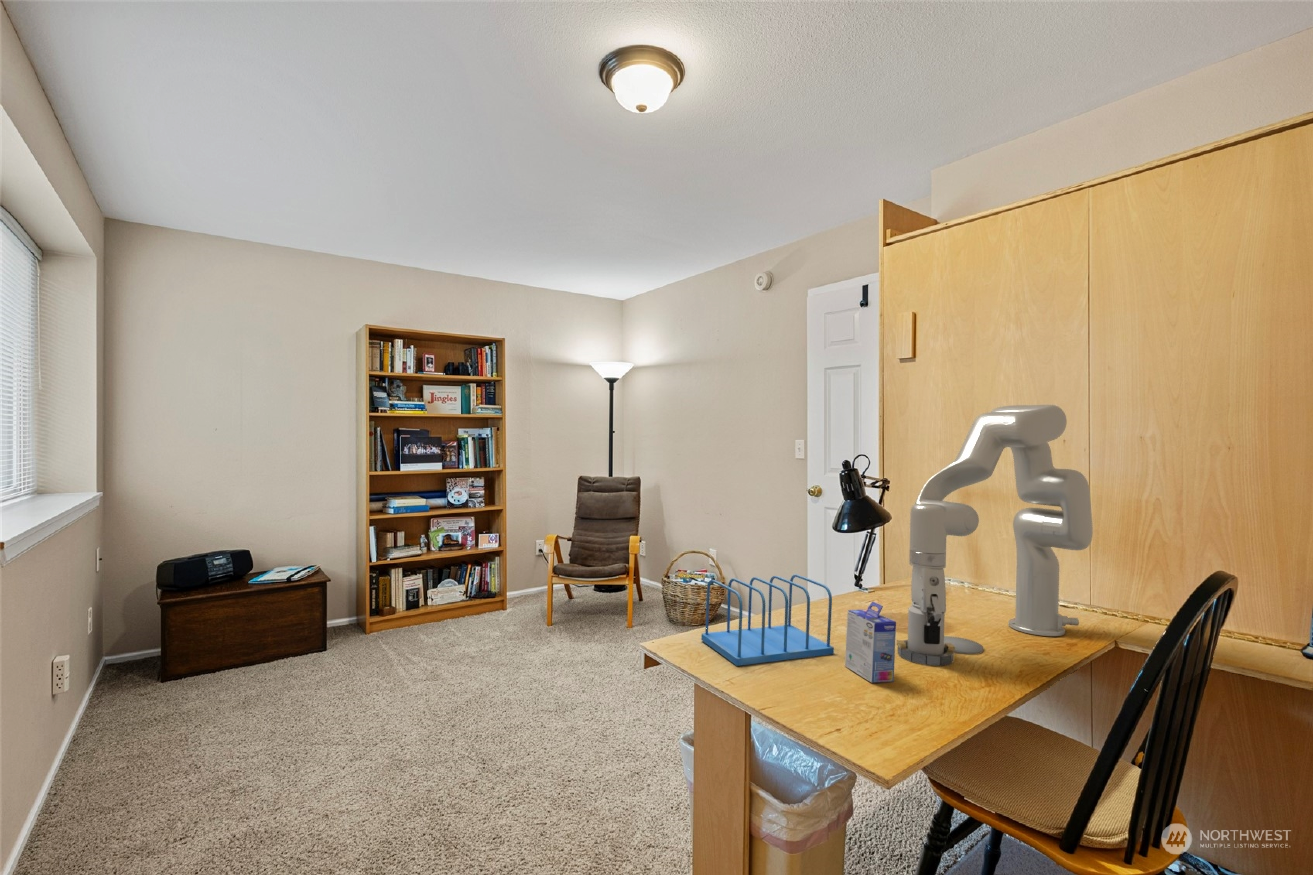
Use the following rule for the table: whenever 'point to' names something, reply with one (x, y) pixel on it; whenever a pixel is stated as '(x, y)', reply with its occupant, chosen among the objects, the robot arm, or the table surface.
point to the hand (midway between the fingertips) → (925, 637)
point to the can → (922, 632)
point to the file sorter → (767, 630)
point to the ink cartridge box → (870, 644)
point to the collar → (926, 655)
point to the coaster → (964, 645)
